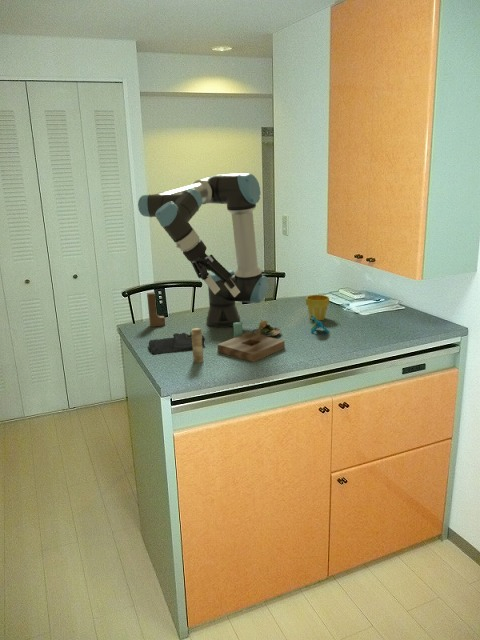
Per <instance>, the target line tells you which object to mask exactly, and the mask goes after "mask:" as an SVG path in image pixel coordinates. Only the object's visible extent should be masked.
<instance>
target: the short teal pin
mask: <svg viewBox="0 0 480 640" xmlns="http://www.w3.org/2000/svg"><path fill="white" fill-rule="evenodd" d="M232 327H233V338H235V337H238V336H241V335H243V334H244V333H243V332H244V331H243V330H244V329H243V328H244V327H243V322H241V321H240V322H235V323H233V326H232Z"/></svg>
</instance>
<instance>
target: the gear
mask: <svg viewBox="0 0 480 640" xmlns="http://www.w3.org/2000/svg"><path fill="white" fill-rule="evenodd" d="M310 317H311V318H312V319H313V320H312V319H311V320H312V321H314V323H313V326H312V327H311V328H310V333H311V334H314V332H315V331H316V330H317V329H319V328H322V330H324V331H325V332H326V333H329V332H330V330H329V329H328V328H326V326H324V325H323V322H322V320H317V319H316V318H315V317H313V316H312V315H311V316H309V318H310Z"/></svg>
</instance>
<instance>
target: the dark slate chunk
mask: <svg viewBox="0 0 480 640" xmlns="http://www.w3.org/2000/svg"><path fill="white" fill-rule="evenodd" d="M189 333H190V334H187V333H186V332H182V333H179V332H178V333H177V332H176V333H174V334H173V335H172V337H167V338H165V337H164V338H160V339H159V338H158V339H157V338H156V339H150V340H149V341H148V348H149V351H150V353H151V354H152V355H153V356H154V355H156V356H157V355H163V354H175V353H181V352H182V353H183V352H190V351H193V347H192V333H191V331H190V332H189ZM205 341H206V338H205V335H203V334H202V346H203V349H204V348H206V346H205Z"/></svg>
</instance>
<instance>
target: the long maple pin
mask: <svg viewBox="0 0 480 640" xmlns="http://www.w3.org/2000/svg"><path fill="white" fill-rule="evenodd" d="M202 331H203V330H202V328H201V327H195V328H192V329H191V331H190V332H191V333H192V347H193V350H192V356H193V357H192V358H193V363H196V364H201V363H203V362H204V350H203V349H204V348H203V346H202V335H203V332H202Z"/></svg>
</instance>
